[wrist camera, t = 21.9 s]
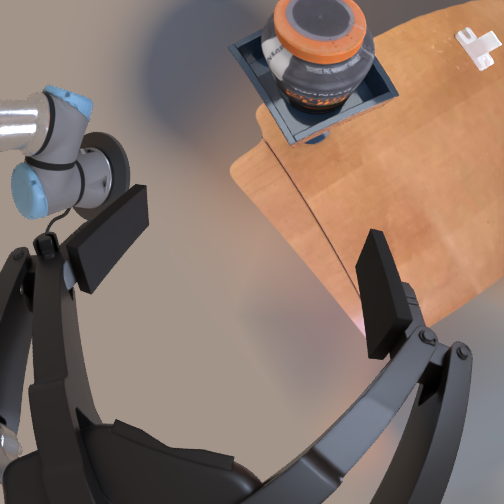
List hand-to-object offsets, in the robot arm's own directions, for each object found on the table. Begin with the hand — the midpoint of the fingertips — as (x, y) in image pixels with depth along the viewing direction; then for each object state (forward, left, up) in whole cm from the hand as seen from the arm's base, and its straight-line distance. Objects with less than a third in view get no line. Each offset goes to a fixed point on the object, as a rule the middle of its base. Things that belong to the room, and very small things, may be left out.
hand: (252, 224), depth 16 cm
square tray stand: (+8, +7, -39) cm, 40 cm away
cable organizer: (+54, +10, -39) cm, 68 cm away
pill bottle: (+8, +7, -8) cm, 13 cm away
